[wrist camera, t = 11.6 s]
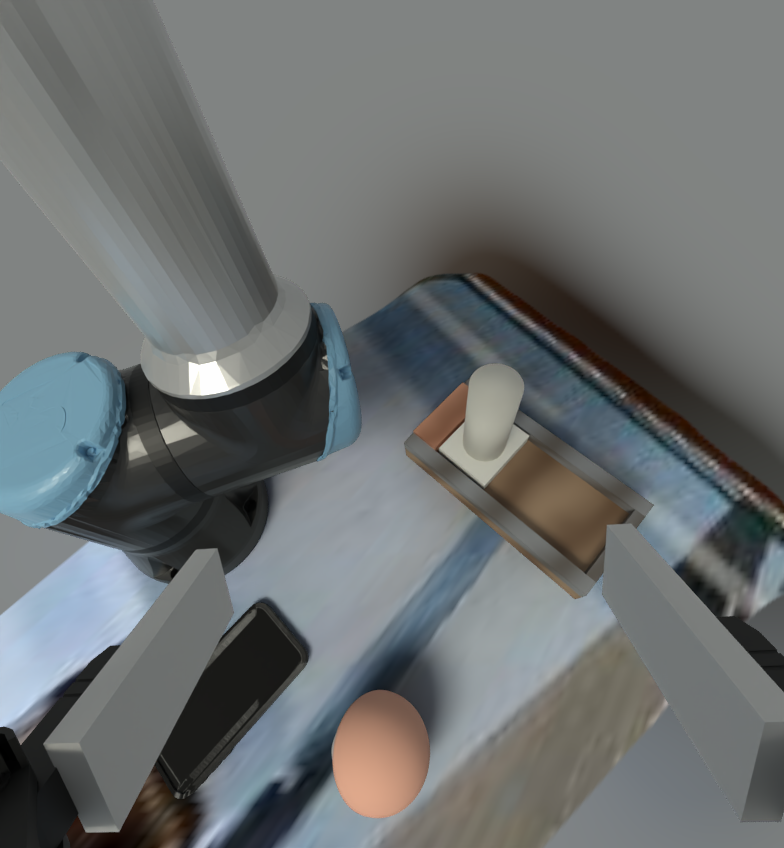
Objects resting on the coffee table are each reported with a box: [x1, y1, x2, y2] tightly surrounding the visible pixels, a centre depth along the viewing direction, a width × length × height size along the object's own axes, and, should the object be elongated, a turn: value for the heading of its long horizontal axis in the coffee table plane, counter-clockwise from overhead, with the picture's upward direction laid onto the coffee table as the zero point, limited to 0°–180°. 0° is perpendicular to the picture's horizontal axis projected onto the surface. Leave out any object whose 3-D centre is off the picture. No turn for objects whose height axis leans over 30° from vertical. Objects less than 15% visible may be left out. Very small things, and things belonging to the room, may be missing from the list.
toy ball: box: [332, 690, 430, 818], centre depth 34 cm, size 8×8×8 cm
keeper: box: [439, 363, 529, 490], centre depth 41 cm, size 6×7×12 cm
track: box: [404, 377, 654, 599], centre depth 45 cm, size 22×11×4 cm, turn 46°
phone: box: [155, 603, 308, 799], centre depth 40 cm, size 8×1×15 cm
